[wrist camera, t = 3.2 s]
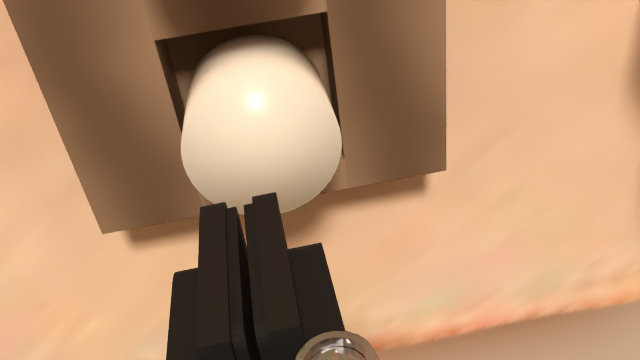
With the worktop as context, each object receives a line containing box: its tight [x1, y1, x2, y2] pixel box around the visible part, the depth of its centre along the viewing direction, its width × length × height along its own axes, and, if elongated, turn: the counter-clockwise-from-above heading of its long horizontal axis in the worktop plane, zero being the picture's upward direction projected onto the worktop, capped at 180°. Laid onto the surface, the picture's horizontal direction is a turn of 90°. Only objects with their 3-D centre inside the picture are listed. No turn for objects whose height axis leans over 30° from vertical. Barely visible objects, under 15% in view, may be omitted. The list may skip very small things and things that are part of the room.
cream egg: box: [181, 34, 342, 215], centre depth 18 cm, size 5×5×4 cm
